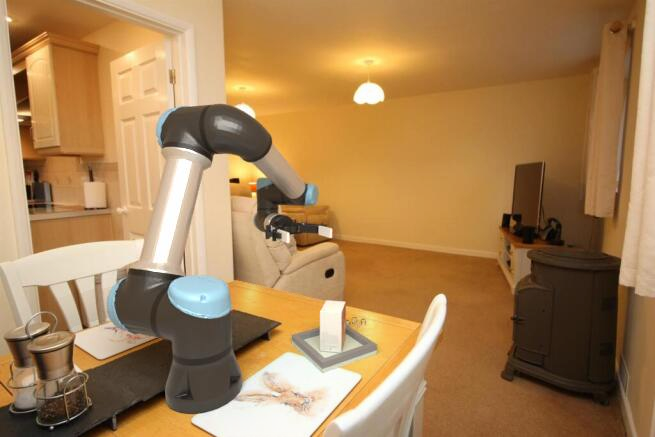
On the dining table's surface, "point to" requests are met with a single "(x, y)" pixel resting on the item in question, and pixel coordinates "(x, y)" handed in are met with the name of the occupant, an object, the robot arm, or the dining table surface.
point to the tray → (325, 361)
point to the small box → (332, 326)
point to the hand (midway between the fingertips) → (310, 235)
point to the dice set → (354, 321)
